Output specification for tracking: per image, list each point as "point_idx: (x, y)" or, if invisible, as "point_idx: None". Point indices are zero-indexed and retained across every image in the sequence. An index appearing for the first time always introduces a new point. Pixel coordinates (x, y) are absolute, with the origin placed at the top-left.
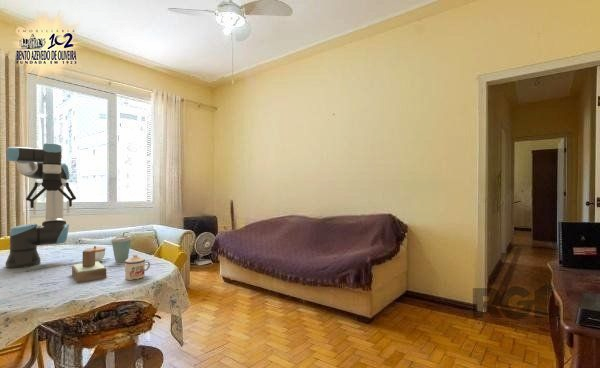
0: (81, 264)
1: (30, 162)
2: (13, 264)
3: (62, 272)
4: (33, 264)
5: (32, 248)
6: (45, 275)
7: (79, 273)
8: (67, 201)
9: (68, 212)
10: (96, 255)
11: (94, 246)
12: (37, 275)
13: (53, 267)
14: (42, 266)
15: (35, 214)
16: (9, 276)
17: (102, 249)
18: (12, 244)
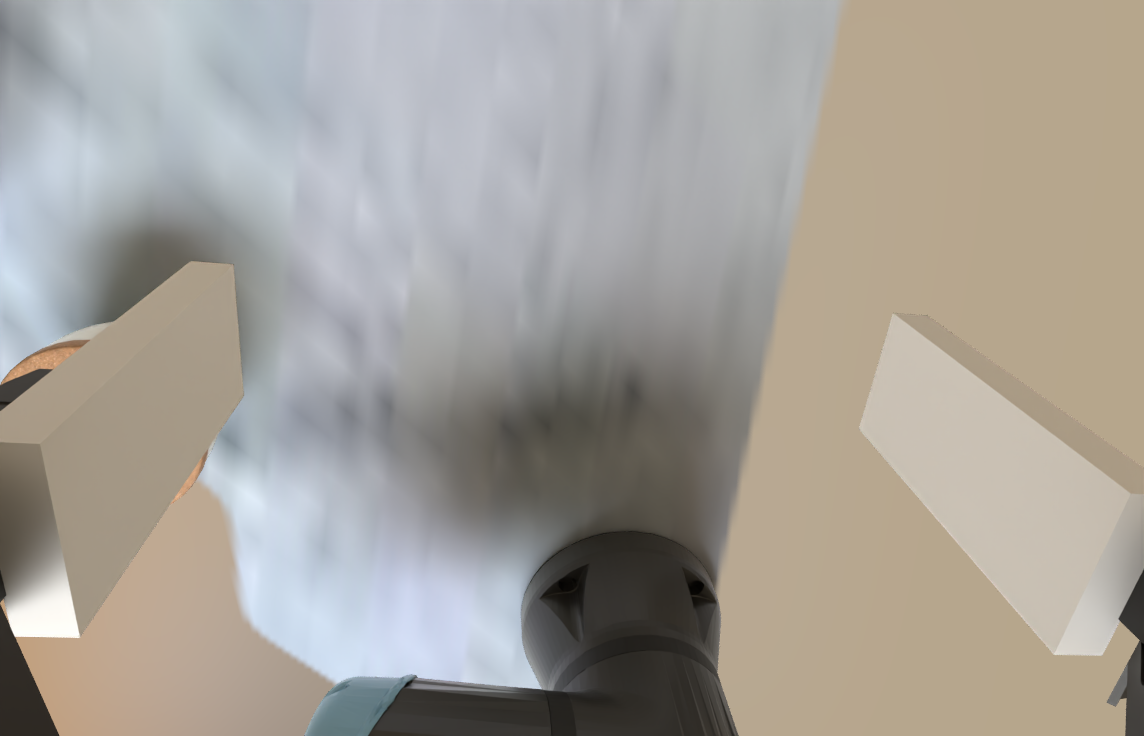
0: None
1: None
2: (690, 566)
3: (441, 139)
4: (574, 547)
5: (590, 662)
6: (564, 134)
7: None
8: (59, 455)
9: (201, 264)
10: None
11: None
12: (610, 186)
13: (472, 388)
14: (529, 479)
15: (895, 315)
16: (754, 311)
17: (23, 361)
18: (730, 718)
